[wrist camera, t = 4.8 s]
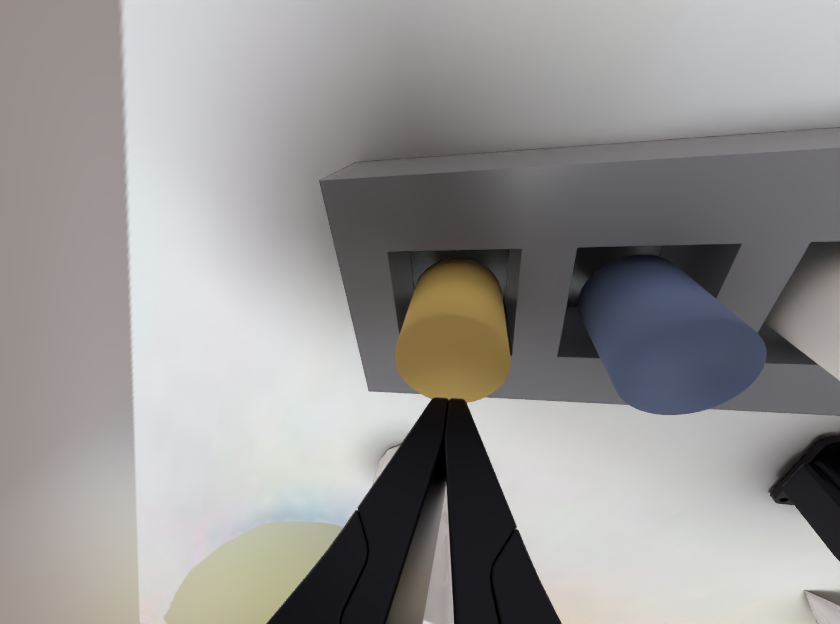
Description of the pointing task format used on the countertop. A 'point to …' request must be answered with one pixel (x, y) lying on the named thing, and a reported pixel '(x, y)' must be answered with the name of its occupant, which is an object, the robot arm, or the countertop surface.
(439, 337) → the ochre key
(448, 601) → the white cup
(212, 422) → the countertop surface
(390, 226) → the key block
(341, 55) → the countertop surface
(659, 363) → the navy key
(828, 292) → the white key
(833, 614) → the pouch
